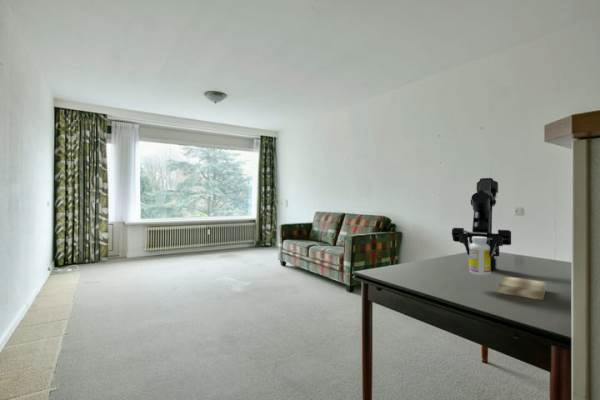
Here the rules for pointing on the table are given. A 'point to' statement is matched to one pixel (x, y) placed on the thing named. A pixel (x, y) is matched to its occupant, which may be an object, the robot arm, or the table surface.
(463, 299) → the table surface
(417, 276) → the table surface
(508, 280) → the oak board
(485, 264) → the supplement bottle
